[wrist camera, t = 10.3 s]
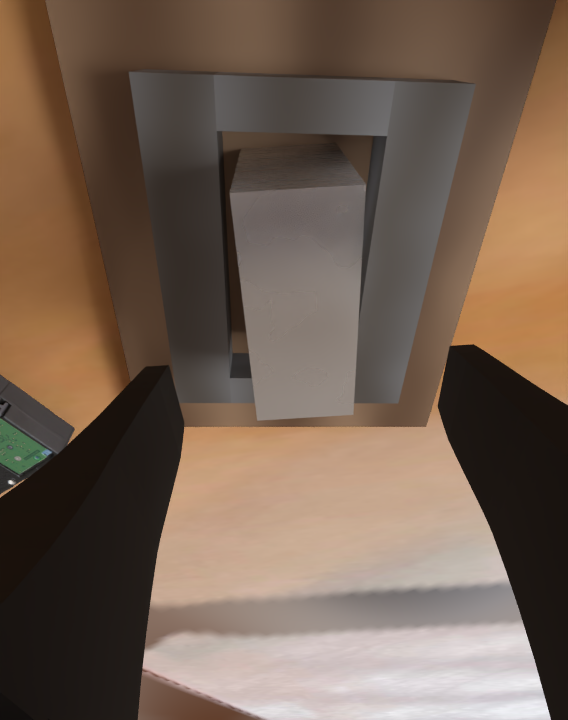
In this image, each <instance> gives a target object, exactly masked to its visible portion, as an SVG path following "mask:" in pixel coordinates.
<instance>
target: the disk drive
mask: <svg viewBox="0 0 568 720" xmlns="http://www.w3.org/2000/svg"><path fill="white" fill-rule="evenodd" d="M74 430H75V429H74V427H72V426H71V425H69V424H68V423H67V422H65V421H64V420H63V419H61V418H59V417H58V416H56V415H55V414H54V413H52V412H51V411H50V410H49V409H47V408H46V407H45V406H43V405H42V404H40V403H39V402H38V401H36V400H35V399H34V398H32V397H31V396H30V395H28V394H27V393H25V392H24V391H23V390H21V389H20V388H19V387H17V386H16V385H14V384H13V383H12V382H10V381H8V380H7V379H5V378H4V377H3V376H1V375H0V494H1V493H2V492H4V491H6V490H8V489H10V488H11V487H13V486H14V485H15V484H17V483H18V482H21V481H22V480H24V479H26V478H28V477H30V476H31V475H32V474H33V473H35V472H36V471H37V470H38V469H40V468H41V467H42V466H44V465H45V464H46V463H47V462H48V461H50V460H51V459H52V458H53V457H54V456H56V455H57V454H58V453H59V452H60V451H61V450H63V449H64V448H65V447H66V446H67V444H68V442H69V440H70V438H71V436H72V434H73V432H74Z"/></svg>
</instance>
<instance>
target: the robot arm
mask: <svg viewBox="0 0 568 720" xmlns="http://www.w3.org/2000/svg"><path fill="white" fill-rule="evenodd" d="M438 409H439V412H440V415H441V419H442V422H443V425H444V428H445V431H446V434H447V437H448V440H449V442H450V444H451V447H452V449H453V451H454V453H455V455H456V457H457V459H458V461H459V463H460V465H461V468H462V470H463V472H464V474H465V476H466V478H467V480H468V482H469V484H470V486H471V488H472V490H473V492H474V494H475V496H476V498H477V500H478V502H479V504H480V506H481V509H482V511H483V513H484V515H485V517H486V519H487V522H488V524H489V526H490V528H491V531H492V533H493V536H494V539H495V541H496V544H497V547H498V550H499V552H500V555H501V558H502V561H503V564H504V566H505V569H506V572H507V575H508V578H509V581H510V584H511V587H512V590H513V593H514V595H515V599H516V601H517V605H518V608H519V610H520V614H521V617H522V620H523V624H524V627H525V630H526V633H527V637H528V640H529V643H530V646H531V650H532V653H533V656H534V659H535V663H536V666H537V670H538V674H539V677H540V681H541V684H542V688H543V692H544V695H545V699H546V703H547V706H548V710H549V713H550V717H551V720H568V405H566V404H565V403H563V402H561V401H560V400H558V399H557V398H555V397H553V396H552V395H550V394H548V393H547V392H545V391H544V390H542V389H541V388H539V387H538V386H536V385H534V384H533V383H531V382H530V381H528V380H527V379H525V378H524V377H522V376H521V375H519V374H518V373H516V372H515V371H513V370H512V369H510V368H509V367H508V366H506V365H505V364H503V363H502V362H500V361H499V360H497V359H496V358H494V357H493V356H491V355H490V354H488V353H487V352H485V351H484V350H482V349H480V348H479V347H477V346H475V345H474V344H473V345H458V346H449V351H448V356H447V361H446V367H445V372H444V377H443V382H442V387H441V392H440V397H439V402H438ZM183 433H184V419H183V415H182V412H181V408H180V404H179V400H178V397H177V393H176V389H175V386H174V382H173V378H172V374H171V371H170V367H169V365H161V366H146V367H145V368H144V369H143V370H142V371H141V372H140V373H139V374H138V375H137V376H136V377H135V378H134V379H133V380H132V381H131V382H130V383H129V384H128V385H127V386H126V388H125V389H124V390H123V391H122V392H121V393H120V394H119V395H118V396H117V397H116V398H115V399H114V400H113V401H112V402H111V403H110V404H109V405H108V406H107V407H106V409H105V410H104V411H103V412H102V413H101V414H100V415H99V416H98V417H97V418H96V419H95V420H94V421H93V422H92V423H90V424H89V425H88V426H87V427H86V428H85V429H84V430H83V431H82V432H81V433H80V434H79V435H78V436H77V437H76V438H75V439H73V440H72V441H71V442H70V443H69V444H68V445H67V446H66V447H65V448H64V449H63V450H61V451H60V452H59V453H58V454H57V455H56V456H54V457H53V458H52V459H51V460H50V461H48V462H47V463H46V464H45V465H44V466H42V467H41V468H40V469H38V470H37V471H36V472H35V473H33V474H32V475H31V476H30V477H28V478H27V479H26V480H24V481H23V482H22V483H20V484H19V485H18V486H16V487H15V488H13V489H12V490H11V491H9V492H8V493H6V494H5V495H3V496H2V497H1V498H0V720H138V709H139V697H140V686H141V676H142V667H143V658H144V649H145V639H146V631H147V623H148V615H149V607H150V600H151V592H152V585H153V578H154V572H155V565H156V558H157V552H158V547H159V542H160V538H161V533H162V529H163V526H164V522H165V518H166V514H167V510H168V506H169V502H170V498H171V494H172V490H173V486H174V482H175V478H176V474H177V470H178V466H179V462H180V458H181V450H182V443H183Z"/></svg>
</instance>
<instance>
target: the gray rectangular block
mask: <svg viewBox="0 0 568 720" xmlns="http://www.w3.org/2000/svg"><path fill="white" fill-rule="evenodd" d="M365 195H366V184H365V182H364V181H363V179H362V178H361V177H360V175H359V174H358V173H357V171H356V170H355V168H354V167H353V166H352V164H351V163H350V162H349V160H348V159H347V157H346V156H345V155H344V153H343V152H342V151H341V149H340V148H339V146H338V145H337V144H336V143H325V144H309V145H294V146H278V147H262V148H247V149H241V150H240V154H239V158H238V162H237V166H236V170H235V174H234V178H233V181H232V185H231V189H230V201H231V210H232V218H233V226H234V234H235V242H236V251H237V259H238V267H239V275H240V283H241V292H242V300H243V308H244V316H245V325H246V333H247V341H248V349H249V357H250V366H251V374H252V382H253V390H254V398H255V407H256V415H257V421H260V420H276V419H293V418H309V417H326V416H342V415H353V412H354V394H355V376H356V358H357V340H358V322H359V303H360V285H361V267H362V249H363V231H364V213H365Z"/></svg>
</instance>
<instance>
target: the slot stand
mask: <svg viewBox="0 0 568 720" xmlns="http://www.w3.org/2000/svg"><path fill="white" fill-rule="evenodd" d="M45 2H46V6H47V11H48V15H49V20H50V24H51V29H52V33H53V38H54V42H55V47H56V51H57V56H58V60H59V65H60V69H61V73H62V78H63V82H64V87H65V91H66V96H67V100H68V105H69V109H70V114H71V118H72V123H73V127H74V131H75V136H76V140H77V145H78V149H79V154H80V158H81V163H82V167H83V172H84V176H85V181H86V185H87V190H88V194H89V198H90V203H91V207H92V212H93V216H94V221H95V225H96V230H97V234H98V239H99V243H100V248H101V252H102V256H103V261H104V265H105V270H106V274H107V279H108V283H109V288H110V292H111V297H112V301H113V306H114V310H115V315H116V319H117V323H118V328H119V332H120V337H121V341H122V346H123V350H124V355H125V359H126V364H127V368H128V373H129V377H130V381H132V380H133V379H134V378H135V377H136V376H137V375H138V374H139V373H140V372H141V371H142V370H143V369H144V368H145V367H146V366H161V365H169V367H170V371H171V374H172V378H173V382H174V386H175V389H176V393H177V397H178V400H179V404H180V408H181V412H182V415H183V419H184V427H426V425H427V422H428V419H429V415H430V412H431V409H432V405H433V402H434V399H435V396H436V392H437V389H438V386H439V383H440V379H441V376H442V373H443V369H444V366H445V363H446V360H447V356H448V351H449V346H451V343H452V340H453V337H454V333H455V330H456V327H457V324H458V320H459V317H460V314H461V311H462V307H463V304H464V301H465V297H466V294H467V291H468V288H469V284H470V281H471V278H472V275H473V271H474V268H475V265H476V261H477V258H478V255H479V252H480V248H481V245H482V242H483V239H484V235H485V232H486V229H487V225H488V222H489V219H490V216H491V212H492V209H493V206H494V203H495V199H496V196H497V193H498V189H499V186H500V183H501V180H502V176H503V173H504V170H505V167H506V163H507V160H508V157H509V153H510V150H511V147H512V144H513V140H514V137H515V134H516V131H517V127H518V124H519V121H520V117H521V114H522V111H523V108H524V104H525V101H526V98H527V95H528V91H529V88H530V85H531V81H532V78H533V75H534V72H535V68H536V65H537V62H538V59H539V55H540V52H541V49H542V45H543V42H544V39H545V36H546V32H547V29H548V26H549V23H550V19H551V16H552V13H553V10H554V6H555V3H556V0H45ZM325 143H336V144H337V145H338V146H339V148H340V149H341V151H342V152H343V153H344V155H345V156H346V157H347V159H348V160H349V162H350V163H351V164H352V166H353V167H354V168H355V170H356V171H357V173H358V174H359V175H360V177H361V178H362V179H363V181H364V182H365V184H366V195H365V213H364V231H363V249H362V267H361V285H360V303H359V322H358V340H357V358H356V376H355V394H354V412H353V415H342V416H326V417H309V418H293V419H276V420H260V421H257V415H256V407H255V398H254V390H253V382H252V374H251V366H250V357H249V349H248V341H247V333H246V325H245V316H244V308H243V300H242V292H241V283H240V275H239V267H238V259H237V251H236V242H235V234H234V226H233V218H232V210H231V201H230V189H231V185H232V181H233V178H234V174H235V170H236V166H237V162H238V158H239V154H240V150H241V149H247V148H262V147H278V146H294V145H309V144H325Z"/></svg>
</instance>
